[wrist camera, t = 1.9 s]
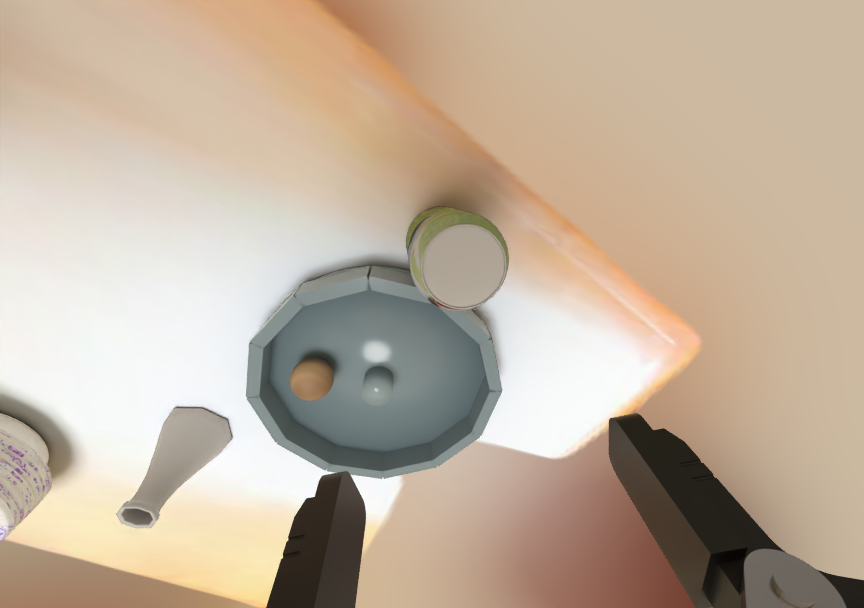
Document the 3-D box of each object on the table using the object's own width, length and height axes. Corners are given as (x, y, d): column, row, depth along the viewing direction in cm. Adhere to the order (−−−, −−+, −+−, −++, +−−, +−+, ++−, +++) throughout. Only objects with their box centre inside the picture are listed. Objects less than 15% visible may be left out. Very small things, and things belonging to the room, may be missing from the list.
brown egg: (290, 355, 34) (275, 381, 30) (328, 345, 33) (318, 371, 30) (306, 385, 35) (295, 414, 32) (343, 377, 35) (335, 404, 32)
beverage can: (404, 268, 31) (400, 337, 21) (410, 184, 28) (409, 215, 17) (471, 273, 32) (501, 343, 21) (484, 191, 29) (528, 226, 18)
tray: (216, 302, 32) (195, 320, 29) (466, 236, 30) (473, 248, 27) (317, 468, 42) (310, 494, 39) (506, 425, 41) (514, 450, 38)
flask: (237, 414, 38) (184, 500, 29) (228, 457, 41) (177, 547, 32) (167, 398, 36) (88, 483, 28) (162, 443, 39) (90, 534, 30)
